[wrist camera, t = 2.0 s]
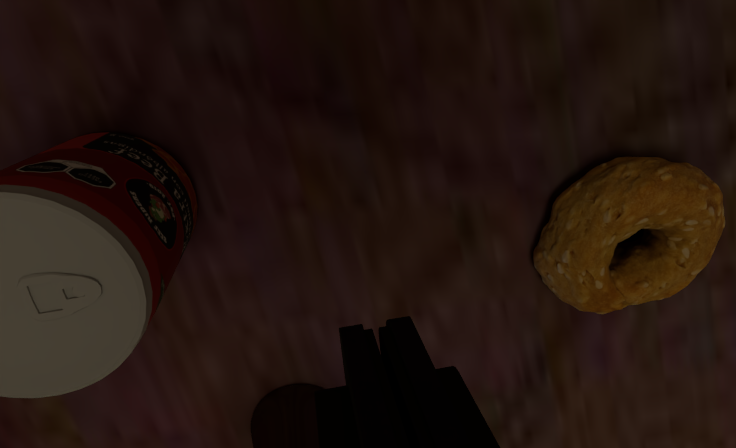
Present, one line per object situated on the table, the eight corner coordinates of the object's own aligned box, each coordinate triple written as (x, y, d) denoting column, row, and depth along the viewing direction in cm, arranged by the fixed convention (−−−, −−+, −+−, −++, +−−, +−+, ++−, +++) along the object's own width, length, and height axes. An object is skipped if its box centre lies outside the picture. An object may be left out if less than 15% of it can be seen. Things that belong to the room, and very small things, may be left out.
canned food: (226, 229, 27) (191, 341, 17) (97, 289, 27) (-15, 436, 17) (150, 102, 24) (53, 145, 14) (5, 168, 24) (-195, 259, 14)
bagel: (505, 201, 30) (544, 229, 25) (669, 118, 29) (736, 132, 25) (551, 323, 33) (592, 365, 29) (697, 250, 33) (760, 282, 29)
